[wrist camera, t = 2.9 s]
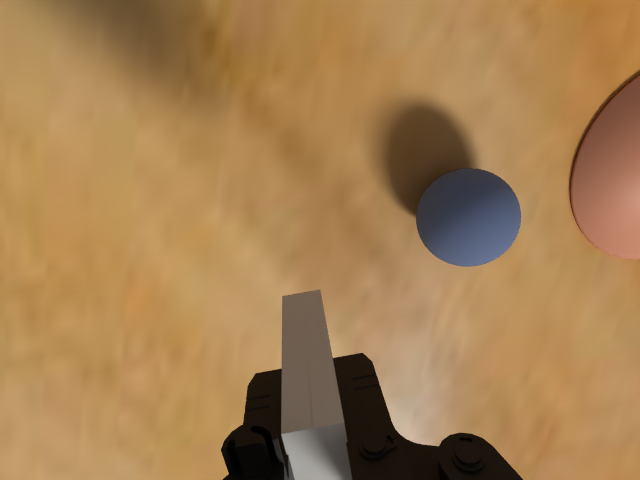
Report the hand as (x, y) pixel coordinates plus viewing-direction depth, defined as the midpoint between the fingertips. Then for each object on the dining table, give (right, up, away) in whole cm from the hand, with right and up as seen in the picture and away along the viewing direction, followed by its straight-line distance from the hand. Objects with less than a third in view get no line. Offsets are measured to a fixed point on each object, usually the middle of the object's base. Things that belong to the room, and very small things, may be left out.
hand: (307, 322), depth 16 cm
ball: (+9, +5, +6) cm, 12 cm away
